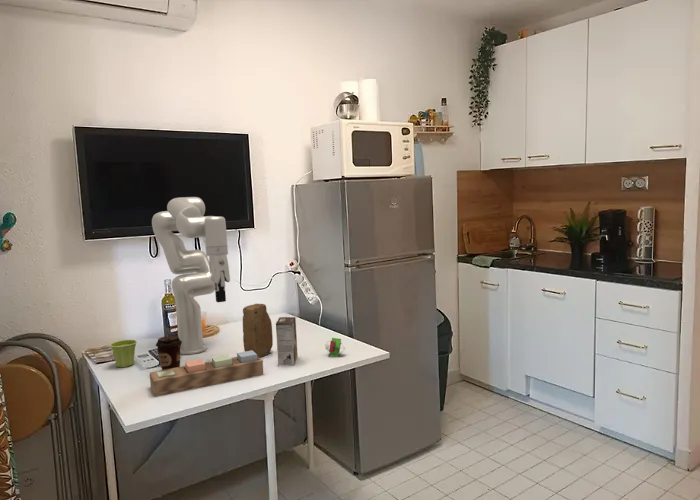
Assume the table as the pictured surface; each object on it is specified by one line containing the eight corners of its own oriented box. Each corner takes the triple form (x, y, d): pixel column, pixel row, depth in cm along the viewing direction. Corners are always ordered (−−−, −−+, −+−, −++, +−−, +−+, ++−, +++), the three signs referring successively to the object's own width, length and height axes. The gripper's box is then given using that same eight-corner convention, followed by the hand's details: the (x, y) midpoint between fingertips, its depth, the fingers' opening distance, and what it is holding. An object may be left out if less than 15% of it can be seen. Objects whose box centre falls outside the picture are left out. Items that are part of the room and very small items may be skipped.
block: (254, 359, 201) (251, 308, 198) (242, 356, 205) (239, 306, 203) (276, 352, 209) (273, 303, 207) (263, 349, 214) (260, 301, 211)
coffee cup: (168, 378, 183) (165, 342, 182) (153, 375, 188) (150, 339, 186) (188, 371, 191) (185, 336, 189) (172, 367, 195) (170, 333, 193)
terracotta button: (188, 378, 174) (188, 366, 174) (185, 373, 179) (184, 362, 178) (206, 375, 177) (205, 363, 176) (202, 370, 181) (201, 359, 181)
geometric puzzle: (336, 344, 209) (328, 332, 204) (350, 347, 205) (342, 334, 200) (327, 359, 205) (319, 346, 200) (342, 362, 201) (333, 349, 196)
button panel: (154, 396, 167) (153, 380, 167) (150, 386, 176) (149, 371, 175) (263, 374, 184) (262, 360, 183) (254, 366, 192) (253, 352, 192)
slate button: (242, 368, 182) (241, 357, 182) (237, 363, 187) (237, 352, 187) (257, 365, 185) (257, 354, 184) (252, 361, 190) (252, 350, 189)
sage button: (216, 373, 178) (215, 361, 178) (212, 368, 183) (211, 357, 183) (232, 370, 181) (231, 358, 180) (228, 365, 186) (227, 354, 185)
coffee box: (281, 358, 202) (279, 316, 200) (298, 357, 201) (296, 316, 200) (277, 366, 192) (275, 322, 191) (294, 365, 192) (292, 322, 190)
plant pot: (112, 363, 203) (110, 341, 202) (138, 359, 206) (136, 338, 205) (111, 370, 194) (109, 348, 193) (139, 366, 198) (137, 344, 197)
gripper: (233, 251, 183) (237, 303, 185) (221, 249, 196) (225, 297, 198) (211, 253, 180) (215, 306, 181) (201, 251, 193) (205, 300, 195)
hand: (221, 301), depth 190 cm, fingers closed
